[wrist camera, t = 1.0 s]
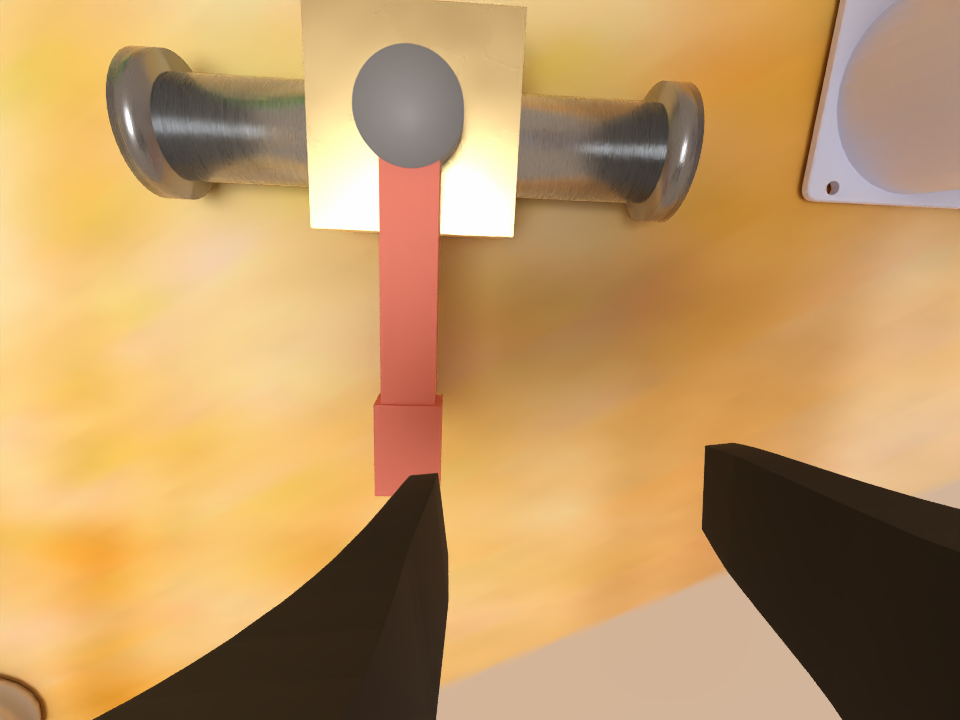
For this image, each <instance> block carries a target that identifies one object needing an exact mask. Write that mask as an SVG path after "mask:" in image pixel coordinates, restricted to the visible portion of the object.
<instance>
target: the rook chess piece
mask: <svg viewBox="0 0 960 720" xmlns="http://www.w3.org/2000/svg"><path fill="white" fill-rule="evenodd" d="M0 720H41V709H40V705H39V702H38V700H37V699H36V698H35V697H34V695H33V694H32V693H31V691H29V690H27V689H26V688H24V687H23V686H21V685H20V684H18V683H15V682H12V681H9V680H6V679H2V678H0Z"/></svg>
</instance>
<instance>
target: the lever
mask: <svg viewBox="0 0 960 720" xmlns="http://www.w3.org/2000/svg"><path fill="white" fill-rule="evenodd" d="M352 112H353V117H354V121H355V124H356V127H357V129H358V131H359V133H360V135H361V137H362V139H363V140H364V142H365V143H366V144H367V145H368V147H369V148H370V149H371V150H372V151H373V152H374V153H375V154H376V155H377V156H378V169H379V264H380V359H381V393H380V394H379V396H378V398H377V400H376V402H375V403H374V467H375V496H393V494H394V493H395V492H396V491H397V489H398V488H399V487H400V486H401V485H402V484H403V482H404V481H405V480H406V479H407V478H408V477H409V476H410V475H420V474H429V473H438V476H439V484H440V481H441V442H442V402H443V395H436V385H437V337H438V290H439V242H440V194H441V165H443V164H444V163H445V162H446V161H448V160H449V158H450V157H451V156H452V155H453V153H454V152H455V150H456V149H457V147H458V145H459V143H460V140H461V137H462V132H463V125H464V99H463V93H462V89H461V86H460V83H459V81H458V78H457V77H456V75H455V73H454V71H453V70H452V68H451V67H450V66H449V64H448V63H447V62H446V61H445V60H444V59H443V58H442V57H441V56H439V55H438V54H437V53H435V52H434V51H432V50H430V49H428V48H426V47H424V46H420V45H417V44H411V43H399V44H393V45H390V46H387V47H385V48H383V49H381V50H379V51H377V52H376V53H375V54H373V55H372V56H371V57H370V58H369V59H368V60H367V61H366V62H365V64H364V65H363V66H362V68H361V69H360V71H359V73H358V75H357V78H356V80H355V83H354V87H353V93H352Z"/></svg>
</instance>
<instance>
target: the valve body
mask: <svg viewBox="0 0 960 720" xmlns="http://www.w3.org/2000/svg"><path fill="white" fill-rule="evenodd" d="M526 11H527V7H519V6H506V5H492V4H479V3H465V2H452V1H438V0H301V20H302V42H303V64H304V80H301V79H285V78H269V77H253V76H238V75H222V74H206V73H193V72H192V70H191V69H190V67H189V66H188V65H187V64H186V63H185V61H184V60H183V59H182V58H181V57H179V56H178V55H177V54H176V53H174V52H172V51H171V50H169V49H165V48H157V47H142V46H127V47H124V48H122V49H121V50H119V51H118V52H117V53H116V54H115V56H114V58H113V59H112V61H111V64H110V66H109V70H108V74H107V82H106V100H107V109H108V115H109V120H110V124H111V127H112V131H113V134H114V137H115V140H116V142H117V145H118V147H119V149H120V152H121V154H122V156H123V158H124V159H125V161H126V163H127V165H128V166H129V168H130V169H131V171H132V172H133V174H134V175H135V176H136V178H137V179H138V180H139V181H140V182H141V183H142V184H143V185H144V186H145V187H146V188H147V189H148V190H150V191H151V192H153V193H154V194H156V195H158V196H160V197H163V198H173V199H194V200H195V199H200V198H202V197H203V196H205V195H206V194H207V193H208V191H209V190H210V188H211V187H212V185H213V182H222V183H242V184H261V185H281V186H301V187H309V195H310V217H311V228H318V229H327V230H336V231H345V232H362V233H379V169H378V156H377V155H376V154H375V153H374V152H373V151H372V150H371V149H370V148H369V147H368V145H367V144H366V143H365V142H364V140H363V139H362V137H361V135H360V133H359V131H358V129H357V127H356V124H355V121H354V117H353V112H352V93H353V87H354V83H355V80H356V78H357V75H358V73H359V71H360V69H361V68H362V66H363V65H364V64H365V62H366V61H367V60H368V59H369V58H370V57H371V56H372V55H373V54H375V53H376V52H377V51H379V50H381V49H383V48H385V47H387V46H390V45H393V44H399V43H411V44H417V45H420V46H424V47H426V48H428V49H430V50H432V51H434V52H435V53H437V54H438V55H439V56H441V57H442V58H443V59H444V60H445V61H446V62H447V63H448V64H449V66H450V67H451V68H452V70H453V71H454V73H455V75H456V77H457V78H458V81H459V83H460V86H461V89H462V93H463V99H464V125H463V132H462V137H461V140H460V143H459V145H458V147H457V149H456V150H455V152H454V153H453V155H452V156H451V157H450V158H449V160H448V161H446V162H445V163H444V164H443V165H441V194H440V236H449V237H471V238H493V239H502V238H510V237H513V231H514V214H515V197H517V198H537V199H557V200H576V201H596V202H616V203H625V204H626V208H627V211H628V214H629V215H630V217H631V218H632V219H633V220H635V221H646V222H664V221H666V220H668V219H669V218H670V217H671V216H672V215H673V214H674V213H675V212H676V211H677V210H678V208H679V207H680V205H681V204H682V202H683V200H684V199H685V197H686V195H687V193H688V191H689V188H690V186H691V184H692V181H693V178H694V175H695V172H696V169H697V166H698V162H699V158H700V153H701V148H702V142H703V134H704V107H703V101H702V97H701V94H700V92H699V90H698V88H697V87H696V86H695V85H694V84H692V83H687V82H672V81H661V82H659V83H657V84H656V85H655V86H654V87H653V88H652V89H651V90H650V91H649V93H648V94H647V96H646V97H645V99H644V101H632V100H616V99H601V98H585V97H569V96H553V95H538V94H522V79H523V62H524V45H525V28H526Z"/></svg>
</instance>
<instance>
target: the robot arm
mask: <svg viewBox="0 0 960 720" xmlns="http://www.w3.org/2000/svg"><path fill="white" fill-rule="evenodd" d="M829 183H830V185H831V191H830V193H829V194H828V193H827V192H826V187H827V185H828V184H829ZM802 194H803V197H804V198H805V199H806V200H807V201H811V202H829V203H849V204H868V205H887V206H906V207H925V208H944V209H960V0H840V4H839V9H838V14H837V19H836V24H835V29H834V34H833V39H832V43H831V48H830V53H829V58H828V63H827V68H826V73H825V78H824V83H823V87H822V92H821V97H820V102H819V107H818V112H817V117H816V122H815V127H814V132H813V136H812V141H811V146H810V151H809V156H808V161H807V166H806V171H805V176H804V180H803V185H802ZM702 530H703V532H704V533H705V535H706V537H707V539H708V540H709V542H710V544H711V546H712V547H713V549H714V551H715V552H716V554H717V556H718V557H719V559H720V560H721V562H722V564H723V565H724V567H725V568H726V570H727V571H728V573H729V574H730V575H731V577H732V578H733V579H734V580H735V582H736V583H737V584H738V586H739V587H740V588H741V589H742V591H743V592H744V593H745V594H746V596H747V597H748V598H749V599H750V601H751V602H752V603H753V605H754V606H755V607H756V608H757V610H758V611H759V612H760V613H761V614H762V616H763V617H764V618H765V619H766V621H767V622H768V623H769V625H770V626H771V627H772V628H773V630H774V631H775V632H776V633H777V634H778V636H779V637H780V638H781V639H782V641H783V642H784V643H785V644H786V646H787V647H788V648H789V649H790V651H791V652H792V653H793V654H794V656H795V657H796V658H797V659H798V660H799V662H800V663H801V664H802V666H803V667H804V668H805V669H806V670H807V672H808V673H809V674H810V676H811V677H812V678H813V680H814V681H815V682H816V684H817V685H818V686H819V687H820V689H821V690H822V692H823V693H824V694H825V696H826V697H827V698H828V700H829V701H830V702H831V704H832V705H833V707H834V708H835V710H836V711H837V712H838V714H839V715H840V717H841V718H842V720H960V509H957V508H953V507H949V506H946V505H942V504H938V503H934V502H930V501H927V500H923V499H920V498H916V497H913V496H909V495H906V494H902V493H899V492H895V491H892V490H888V489H885V488H881V487H878V486H875V485H871V484H868V483H865V482H862V481H858V480H855V479H852V478H849V477H846V476H843V475H839V474H836V473H833V472H830V471H827V470H824V469H821V468H818V467H815V466H812V465H809V464H806V463H803V462H799V461H796V460H793V459H790V458H787V457H784V456H781V455H778V454H774V453H771V452H768V451H765V450H761V449H758V448H754V447H750V446H746V445H742V444H737V443H727V444H717V445H707V446H705V465H704V489H703V514H702ZM447 610H448V550H447V542H446V534H445V525H444V517H443V509H442V501H441V492H440V484H439V476H438V473H429V474H420V475H410V476H409V477H408V478H407V479H406V480H405V481H404V482H403V484H402V485H401V486H400V487H399V488H398V489H397V491H396V492H395V493H394V494H393V496H392V497H391V498H390V499H389V500H388V502H387V503H386V504H385V505H384V506H383V507H382V509H381V510H380V511H379V512H378V513H377V514H376V515H375V517H374V518H373V519H372V520H371V521H370V522H369V523H368V524H367V526H366V527H365V528H364V529H363V530H362V531H361V532H360V533H359V534H358V535H357V536H356V537H355V538H354V539H353V540H352V541H351V542H350V543H349V544H348V545H347V546H346V547H345V548H344V549H343V550H342V551H341V552H340V553H339V554H338V555H337V556H336V557H335V558H334V559H333V560H332V561H331V562H330V563H329V564H327V565H326V566H325V567H324V568H323V569H322V570H321V571H320V572H318V573H317V574H316V575H315V576H314V577H313V578H311V579H310V580H309V581H308V582H306V583H305V584H304V585H303V586H302V587H300V588H299V589H298V590H297V591H296V592H294V593H293V594H292V595H291V596H289V597H288V598H287V599H285V600H284V601H283V602H281V603H280V604H279V605H277V606H276V607H274V608H273V609H272V610H270V611H269V612H267V613H266V614H265V615H263V616H262V617H260V618H259V619H258V620H256V621H255V622H253V623H252V624H251V625H249V626H248V627H246V628H245V629H244V630H242V631H241V632H239V633H238V634H237V635H235V636H234V637H232V638H231V639H229V640H228V641H226V642H225V643H223V644H222V645H220V646H219V647H217V648H216V649H214V650H212V651H211V652H209V653H208V654H206V655H205V656H203V657H201V658H200V659H198V660H197V661H195V662H194V663H192V664H190V665H189V666H187V667H185V668H184V669H182V670H180V671H179V672H177V673H175V674H174V675H172V676H170V677H169V678H167V679H165V680H163V681H162V682H160V683H158V684H157V685H155V686H153V687H152V688H150V689H148V690H146V691H145V692H143V693H141V694H139V695H138V696H136V697H134V698H132V699H131V700H129V701H127V702H125V703H123V704H121V705H119V706H117V707H116V708H114V709H112V710H110V711H108V712H106V713H104V714H102V715H100V716H99V717H97V718H95V719H93V720H436V714H437V704H438V695H439V686H440V677H441V667H442V658H443V649H444V639H445V630H446V620H447Z"/></svg>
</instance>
